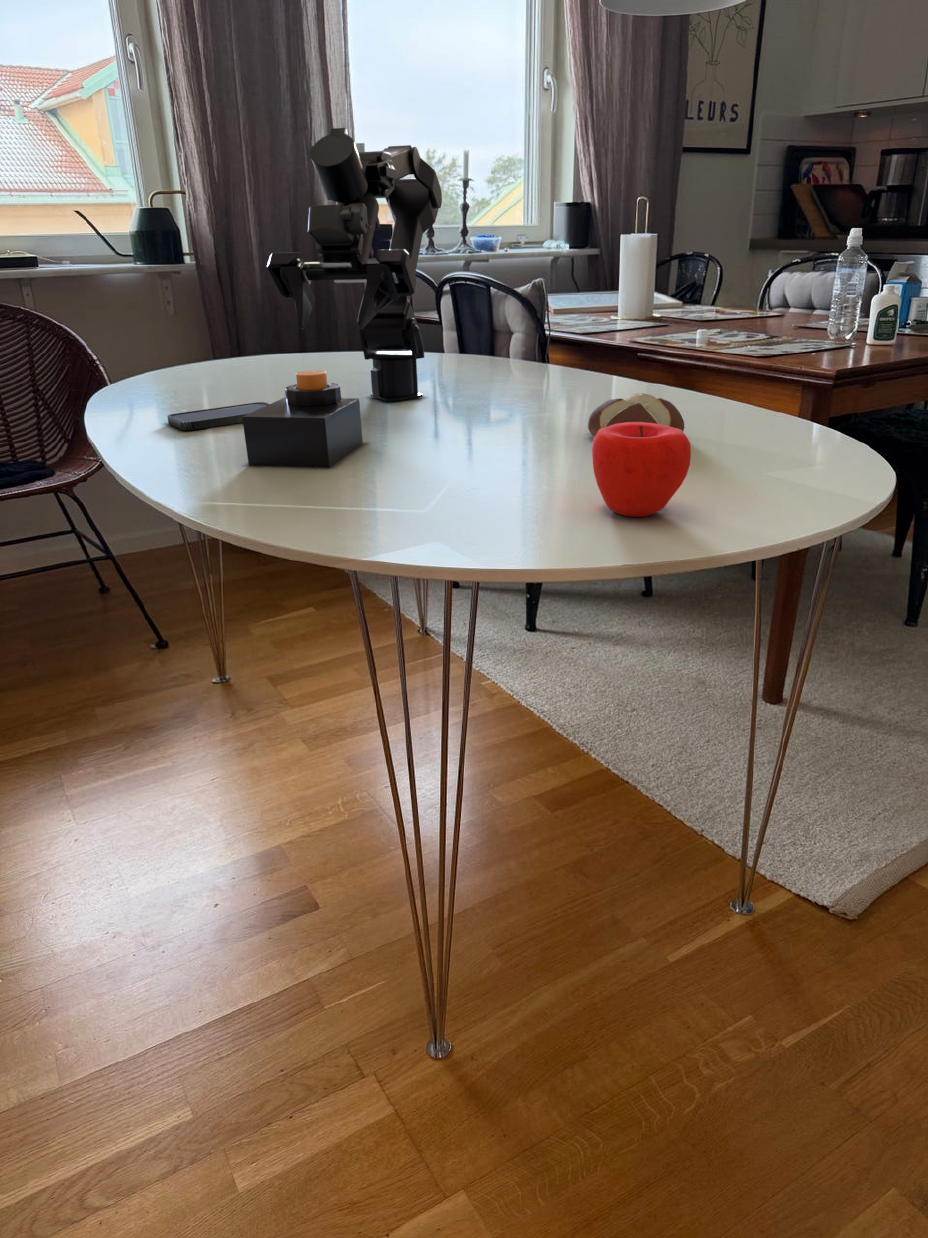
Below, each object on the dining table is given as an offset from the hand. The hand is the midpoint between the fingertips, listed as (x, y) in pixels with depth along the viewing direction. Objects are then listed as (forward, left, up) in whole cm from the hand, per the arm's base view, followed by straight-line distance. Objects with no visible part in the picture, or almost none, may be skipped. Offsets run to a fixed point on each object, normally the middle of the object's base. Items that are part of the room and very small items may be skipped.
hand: (330, 326), depth 108 cm
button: (+5, +6, -7) cm, 10 cm away
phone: (+10, -19, -14) cm, 25 cm away
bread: (-28, +26, -14) cm, 41 cm away
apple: (-8, +49, -14) cm, 52 cm away
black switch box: (+8, +8, -14) cm, 18 cm away
